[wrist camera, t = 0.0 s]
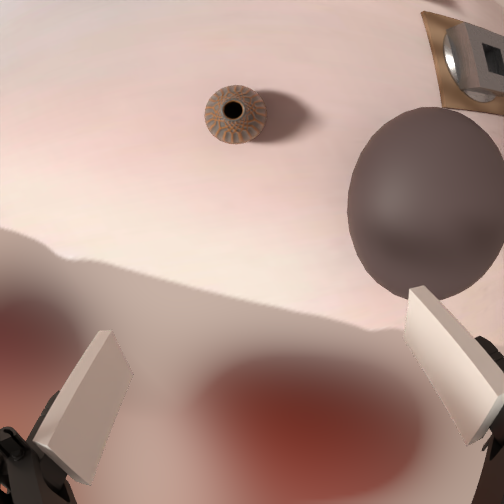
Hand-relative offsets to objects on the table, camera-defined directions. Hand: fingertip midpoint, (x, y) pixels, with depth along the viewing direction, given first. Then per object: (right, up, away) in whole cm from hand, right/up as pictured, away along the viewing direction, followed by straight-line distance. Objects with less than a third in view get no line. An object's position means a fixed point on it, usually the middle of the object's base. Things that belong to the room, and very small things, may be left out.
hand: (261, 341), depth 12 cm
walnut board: (+34, +33, +17) cm, 51 cm away
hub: (+34, +33, +17) cm, 51 cm away
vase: (-2, +20, +22) cm, 30 cm away
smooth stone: (+23, +12, +26) cm, 36 cm away
